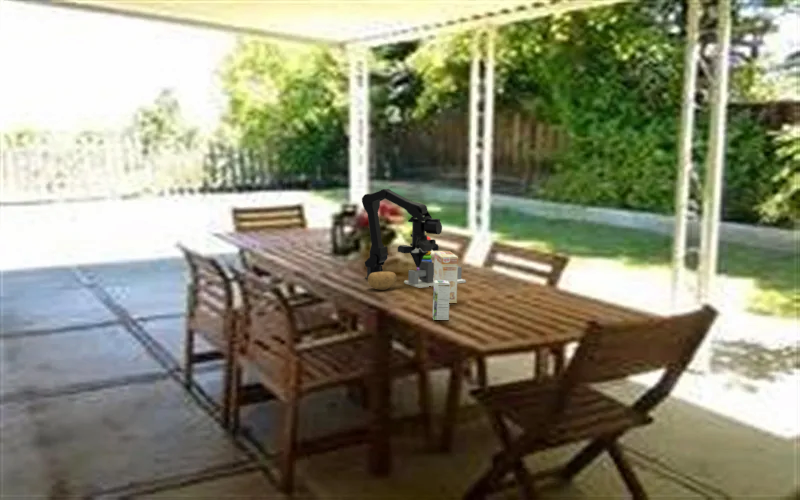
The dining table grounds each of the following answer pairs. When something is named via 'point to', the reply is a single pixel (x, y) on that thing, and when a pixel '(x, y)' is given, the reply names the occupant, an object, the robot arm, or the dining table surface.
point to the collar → (427, 271)
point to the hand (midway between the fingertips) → (417, 267)
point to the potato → (381, 280)
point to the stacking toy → (427, 255)
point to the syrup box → (441, 300)
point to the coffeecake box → (447, 271)
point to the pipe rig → (415, 281)
